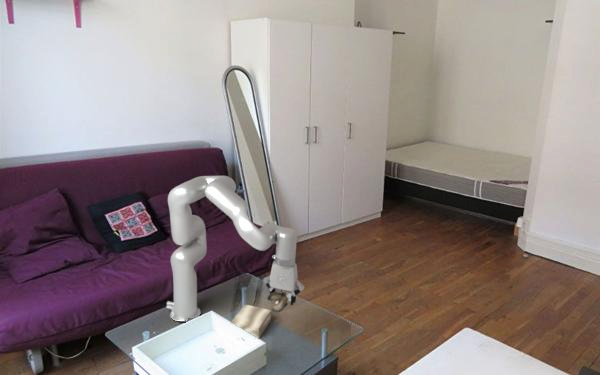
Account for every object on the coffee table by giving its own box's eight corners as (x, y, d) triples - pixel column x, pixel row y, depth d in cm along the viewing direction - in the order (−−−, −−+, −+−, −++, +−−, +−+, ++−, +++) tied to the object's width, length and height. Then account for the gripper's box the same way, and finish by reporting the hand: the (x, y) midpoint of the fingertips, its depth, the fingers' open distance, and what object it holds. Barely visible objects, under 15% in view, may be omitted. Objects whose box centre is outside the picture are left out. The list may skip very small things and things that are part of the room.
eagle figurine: (275, 295, 187) (262, 300, 179) (286, 284, 184) (273, 289, 176) (286, 310, 184) (274, 316, 177) (297, 299, 182) (285, 305, 174)
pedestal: (230, 332, 190) (231, 321, 188) (244, 314, 203) (245, 304, 201) (258, 338, 186) (258, 328, 185) (270, 320, 199) (271, 310, 198)
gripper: (260, 259, 176) (258, 301, 181) (304, 269, 171) (301, 311, 176) (267, 252, 183) (265, 292, 188) (310, 260, 178) (306, 301, 183)
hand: (282, 301), depth 182 cm, fingers closed on eagle figurine, 7 cm apart
